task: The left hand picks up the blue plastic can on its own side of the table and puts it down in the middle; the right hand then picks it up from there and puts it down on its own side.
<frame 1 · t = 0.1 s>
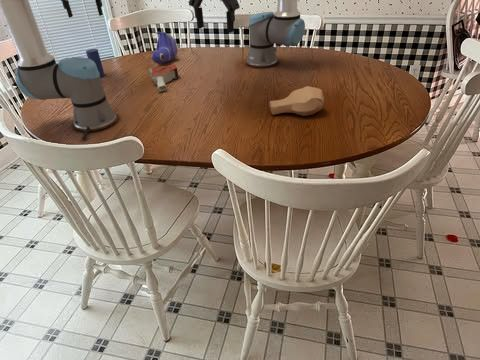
left hand: (86, 16, 157), 28 cm above the table, tool pointing down, fingers open, 13 cm apart
right hand: (215, 29, 124), 28 cm above the table, tool pointing down, fingers open, 13 cm apart
toy: (165, 63, 186), on the table
can: (99, 76, 175), on the table
tape dispenser: (162, 82, 163), on the table
squash: (296, 112, 131), on the table
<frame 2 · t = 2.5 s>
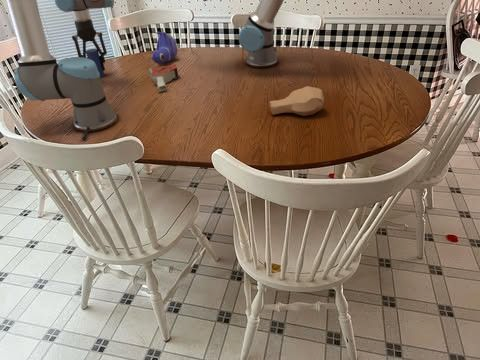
left hand: (97, 70, 174), 3 cm above the table, tool pointing down, fingers closed on can, 5 cm apart
can: (99, 76, 175), on the table, touching left hand
everything else where it was.
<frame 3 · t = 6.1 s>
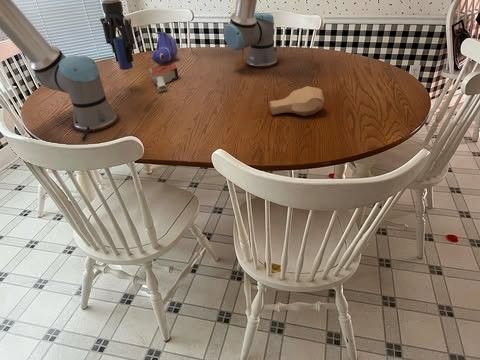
left hand: (124, 61, 152), 12 cm above the table, tool pointing down, fingers closed on can, 5 cm apart
can: (126, 67, 154), point 10 cm above the table, touching left hand
everything else where it was.
when the left hand's fingers open (5 cm above the table, at t = 9.9 s): can drops 2 cm, on the table.
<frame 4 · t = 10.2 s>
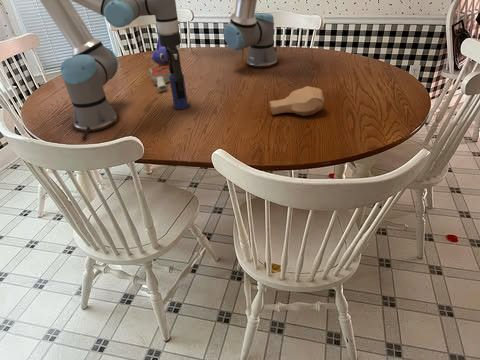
left hand: (179, 93, 138), 5 cm above the table, tool pointing down, fingers open, 8 cm apart
can: (181, 106, 141), on the table
everything else where it was.
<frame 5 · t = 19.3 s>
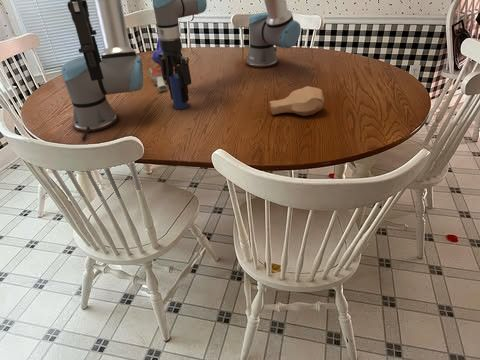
left hand: (97, 70, 88), 30 cm above the table, tool pointing down, fingers open, 13 cm apart
right hand: (179, 99, 139), 3 cm above the table, tool pointing down, fingers closed on can, 5 cm apart
can: (181, 106, 141), on the table, touching right hand
everything else where it was.
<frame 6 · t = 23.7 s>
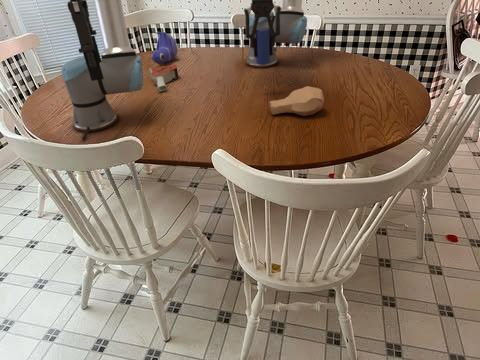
left hand: (97, 70, 88), 30 cm above the table, tool pointing down, fingers open, 13 cm apart
right hand: (263, 55, 139), 16 cm above the table, tool pointing down, fingers closed on can, 5 cm apart
can: (263, 62, 140), point 13 cm above the table, touching right hand
everything else where it was.
when the right hand's fingers open (5 cm above the table, at t = 28.2 s): can drops 2 cm, on the table.
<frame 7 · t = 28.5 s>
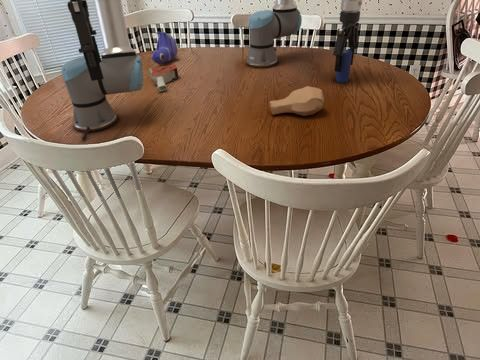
left hand: (97, 70, 88), 30 cm above the table, tool pointing down, fingers open, 13 cm apart
right hand: (343, 67, 151), 5 cm above the table, tool pointing down, fingers open, 9 cm apart
can: (342, 80, 154), on the table
everything else where it was.
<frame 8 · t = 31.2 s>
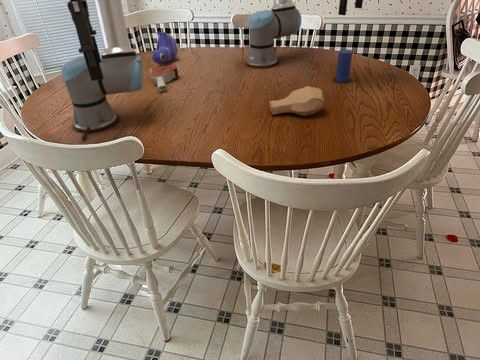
left hand: (97, 70, 88), 30 cm above the table, tool pointing down, fingers open, 13 cm apart
right hand: (350, 11, 138), 28 cm above the table, tool pointing down, fingers open, 13 cm apart
nothing on the table moved.
at the end: can inside the target area (0.0 cm from its centre), on the table; can tilted 0°; the two hands never held the can at the same time; the left hand is holding nothing; the right hand is holding nothing; can at rest at the end (0.0 cm/s) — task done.
